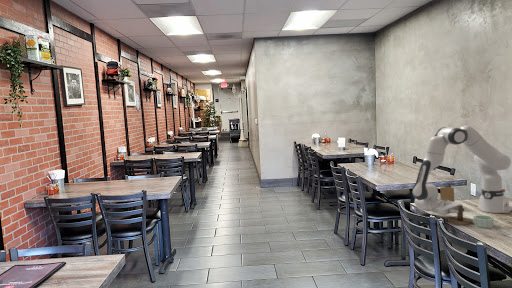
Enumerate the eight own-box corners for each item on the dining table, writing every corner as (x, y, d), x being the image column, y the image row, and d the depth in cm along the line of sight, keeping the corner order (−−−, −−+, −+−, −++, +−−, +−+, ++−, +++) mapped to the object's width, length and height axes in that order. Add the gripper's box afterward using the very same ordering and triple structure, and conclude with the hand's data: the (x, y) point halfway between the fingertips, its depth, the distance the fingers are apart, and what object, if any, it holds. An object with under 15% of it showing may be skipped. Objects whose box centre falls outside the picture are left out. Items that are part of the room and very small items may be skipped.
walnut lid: (455, 217, 226) (455, 202, 225) (477, 222, 215) (476, 205, 214) (443, 222, 219) (443, 205, 219) (465, 226, 208) (464, 209, 208)
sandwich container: (454, 203, 259) (454, 183, 258) (454, 208, 246) (454, 187, 245) (441, 202, 263) (440, 182, 262) (440, 207, 250) (440, 187, 249)
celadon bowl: (479, 221, 215) (478, 214, 215) (497, 225, 207) (497, 217, 206) (470, 224, 210) (470, 217, 210) (488, 228, 202) (488, 221, 201)
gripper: (429, 205, 222) (451, 209, 210) (448, 199, 233) (470, 202, 221) (430, 214, 223) (452, 219, 211) (448, 208, 233) (470, 212, 221)
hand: (461, 210), depth 216 cm, fingers open, 6 cm apart
